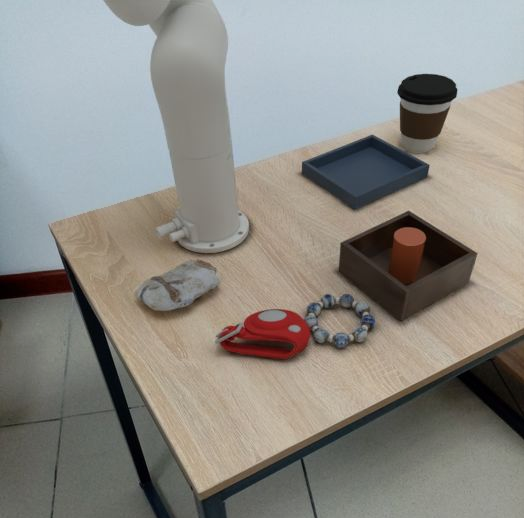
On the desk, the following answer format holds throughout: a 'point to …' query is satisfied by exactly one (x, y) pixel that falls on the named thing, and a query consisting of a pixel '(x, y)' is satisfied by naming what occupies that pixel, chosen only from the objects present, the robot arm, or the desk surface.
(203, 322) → the desk surface
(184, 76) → the robot arm
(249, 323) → the tracker holder
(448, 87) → the coffee cup
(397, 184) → the tray
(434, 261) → the brown open box
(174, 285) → the stone
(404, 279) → the orange cylinder
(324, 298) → the bracelet
